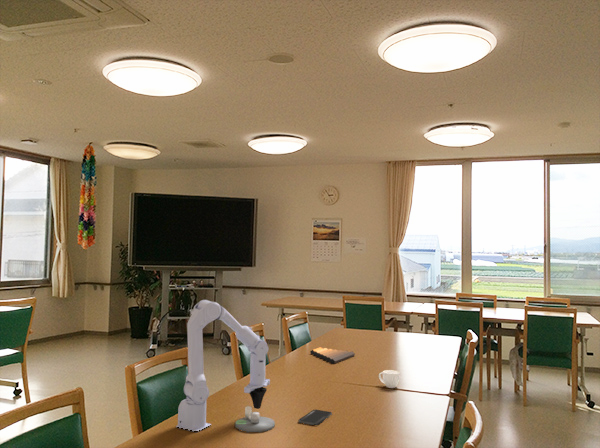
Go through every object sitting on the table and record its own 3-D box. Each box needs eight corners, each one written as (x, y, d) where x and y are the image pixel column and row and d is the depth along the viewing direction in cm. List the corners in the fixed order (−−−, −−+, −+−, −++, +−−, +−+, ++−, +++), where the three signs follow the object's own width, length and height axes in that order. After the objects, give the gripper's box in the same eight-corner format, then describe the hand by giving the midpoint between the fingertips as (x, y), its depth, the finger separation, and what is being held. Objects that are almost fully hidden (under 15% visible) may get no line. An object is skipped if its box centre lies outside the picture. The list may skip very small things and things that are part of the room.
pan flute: (335, 365, 277) (354, 357, 298) (335, 358, 277) (354, 351, 298) (296, 359, 290) (318, 352, 311) (296, 353, 290) (318, 346, 311)
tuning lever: (260, 422, 178) (260, 411, 178) (253, 423, 176) (253, 413, 177) (250, 415, 185) (250, 405, 185) (243, 417, 183) (243, 406, 184)
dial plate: (227, 428, 176) (227, 424, 176) (249, 416, 188) (249, 413, 188) (260, 435, 169) (260, 432, 169) (282, 423, 181) (282, 420, 181)
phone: (297, 420, 182) (314, 409, 195) (297, 423, 182) (314, 412, 195) (317, 424, 179) (333, 412, 192) (317, 427, 178) (333, 415, 192)
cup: (395, 390, 226) (395, 374, 227) (375, 386, 232) (375, 371, 233) (402, 386, 233) (402, 371, 233) (382, 382, 239) (382, 368, 239)
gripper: (255, 376, 181) (255, 415, 180) (276, 368, 194) (276, 404, 193) (239, 374, 185) (239, 412, 184) (261, 366, 197) (260, 401, 197)
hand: (257, 408), depth 189 cm, fingers closed
